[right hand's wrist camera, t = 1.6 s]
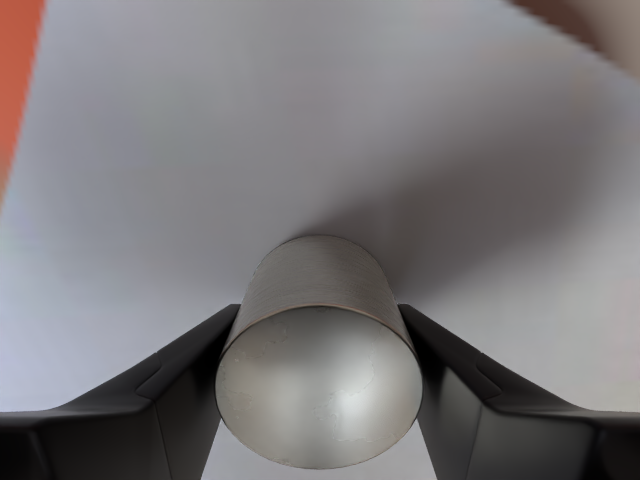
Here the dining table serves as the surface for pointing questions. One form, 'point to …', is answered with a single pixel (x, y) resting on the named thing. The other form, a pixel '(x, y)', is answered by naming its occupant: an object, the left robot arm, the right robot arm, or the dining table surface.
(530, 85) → the dining table surface
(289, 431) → the canister
